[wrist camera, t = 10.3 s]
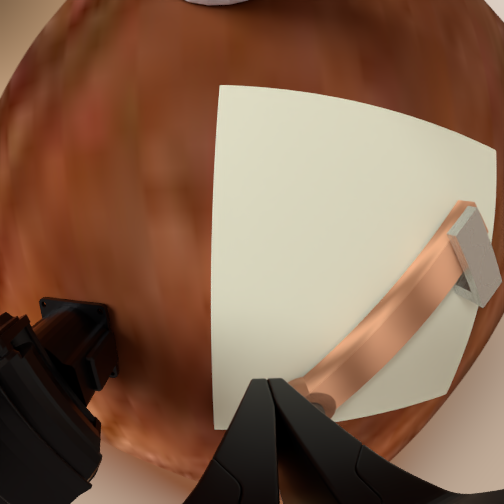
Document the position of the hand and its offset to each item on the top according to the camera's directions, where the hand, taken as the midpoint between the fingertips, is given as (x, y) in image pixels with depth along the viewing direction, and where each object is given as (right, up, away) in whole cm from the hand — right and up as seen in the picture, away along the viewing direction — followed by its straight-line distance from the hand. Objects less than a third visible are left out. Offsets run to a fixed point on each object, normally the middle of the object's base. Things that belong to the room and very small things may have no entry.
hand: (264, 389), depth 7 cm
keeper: (+16, +4, +13) cm, 21 cm away
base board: (+9, +1, +13) cm, 16 cm away
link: (+10, -1, +12) cm, 15 cm away
